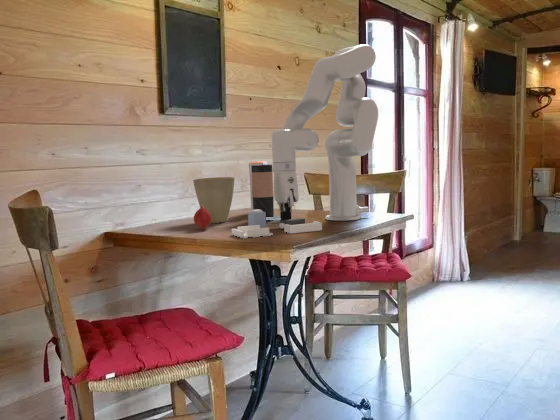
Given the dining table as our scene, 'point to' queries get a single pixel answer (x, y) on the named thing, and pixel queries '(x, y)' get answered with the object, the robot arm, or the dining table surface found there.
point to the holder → (251, 231)
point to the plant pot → (215, 196)
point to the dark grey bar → (291, 222)
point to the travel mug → (263, 189)
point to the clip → (303, 227)
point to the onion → (202, 218)
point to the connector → (257, 218)
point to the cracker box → (251, 176)
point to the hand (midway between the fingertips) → (286, 223)
